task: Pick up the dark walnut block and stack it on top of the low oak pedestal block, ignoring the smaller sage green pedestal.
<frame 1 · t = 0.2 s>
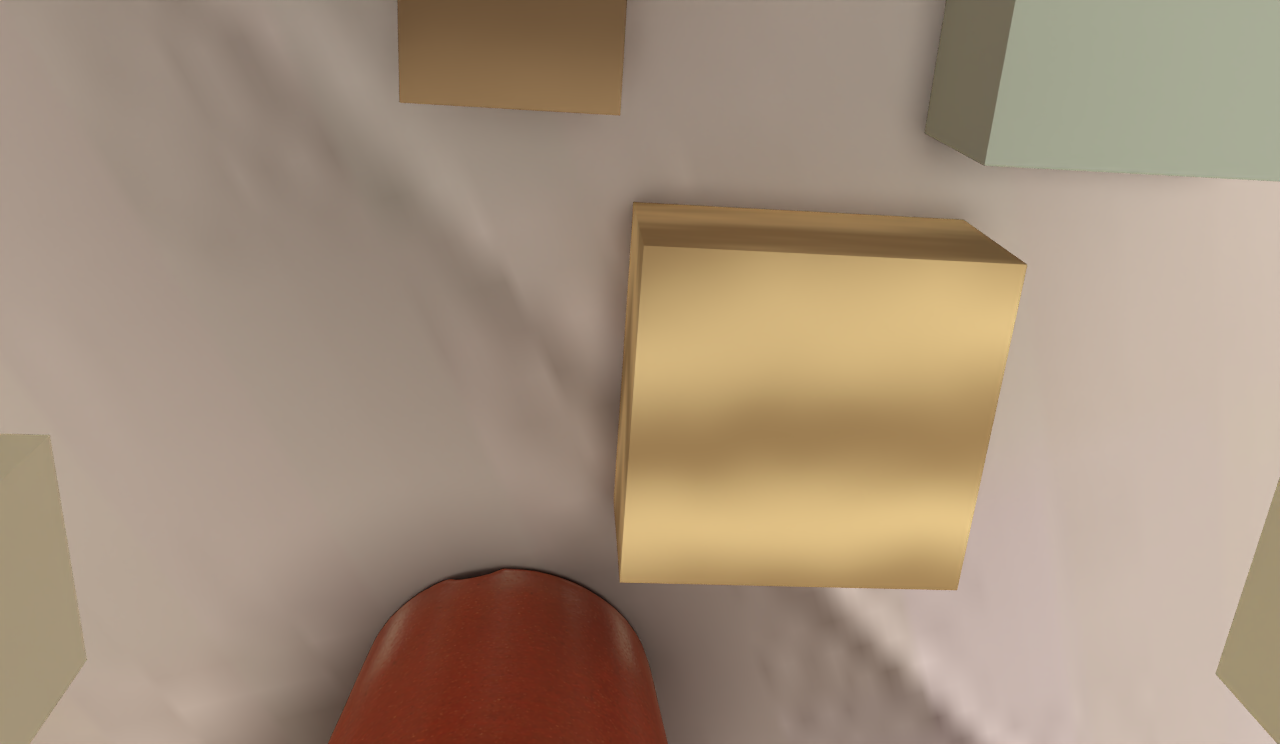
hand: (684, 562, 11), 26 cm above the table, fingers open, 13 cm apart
oak pedestal: (779, 363, 40), on the table
flower pot 2: (508, 679, 44), on the table
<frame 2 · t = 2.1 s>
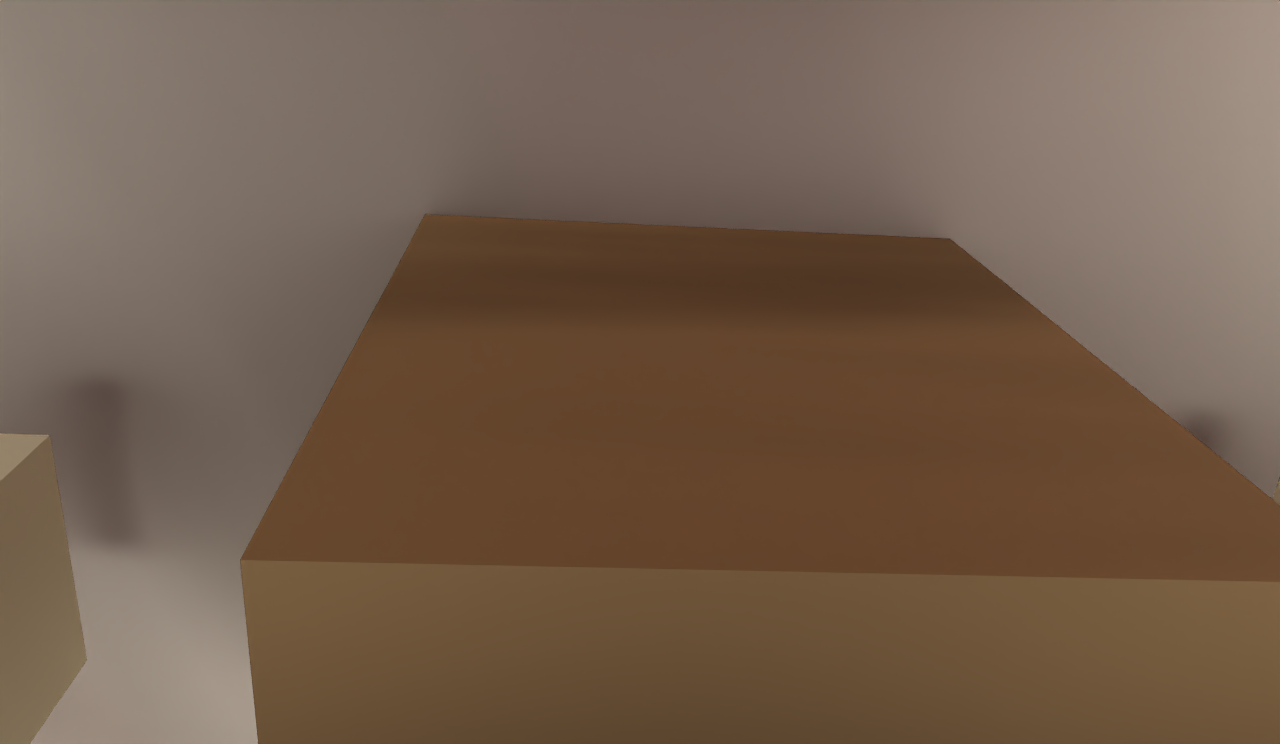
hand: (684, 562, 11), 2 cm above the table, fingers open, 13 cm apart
walnut block: (672, 460, 13), on the table
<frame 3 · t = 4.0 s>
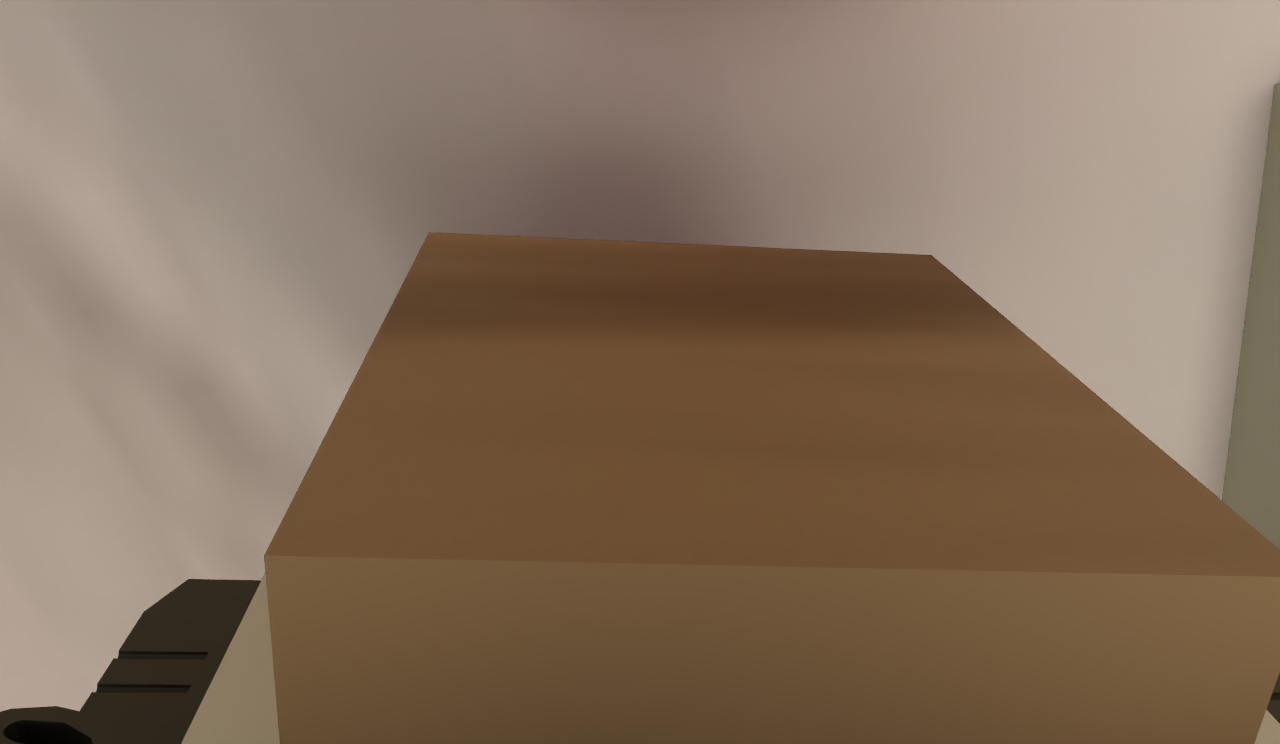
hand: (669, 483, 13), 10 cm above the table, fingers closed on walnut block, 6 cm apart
walnut block: (666, 469, 13), point 9 cm above the table, touching gripper
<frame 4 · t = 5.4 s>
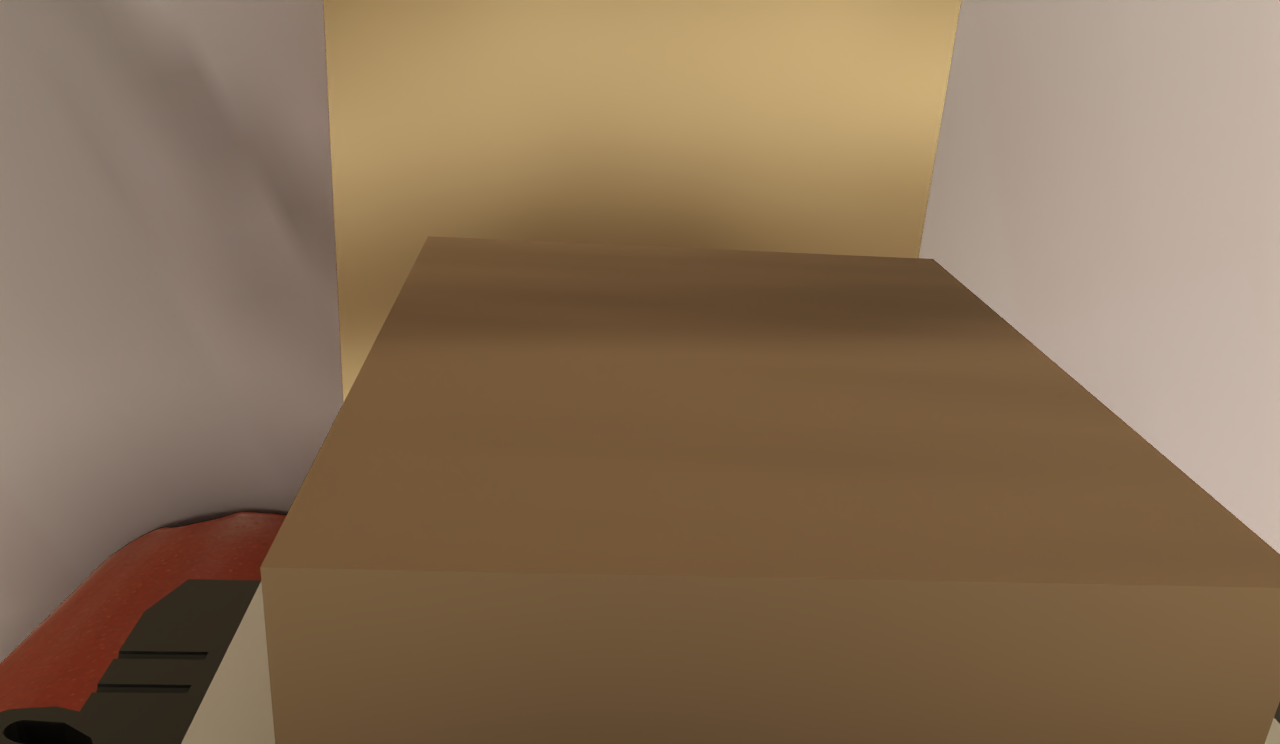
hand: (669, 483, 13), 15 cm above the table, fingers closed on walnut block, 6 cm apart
oak pedestal: (619, 203, 27), on the table
flower pot 2: (270, 672, 32), on the table
walnut block: (667, 474, 13), point 15 cm above the table, touching gripper
when the fingers open (7 cm above the table, at t = 7.0 s): walnut block drops 1 cm, resting on oak pedestal.
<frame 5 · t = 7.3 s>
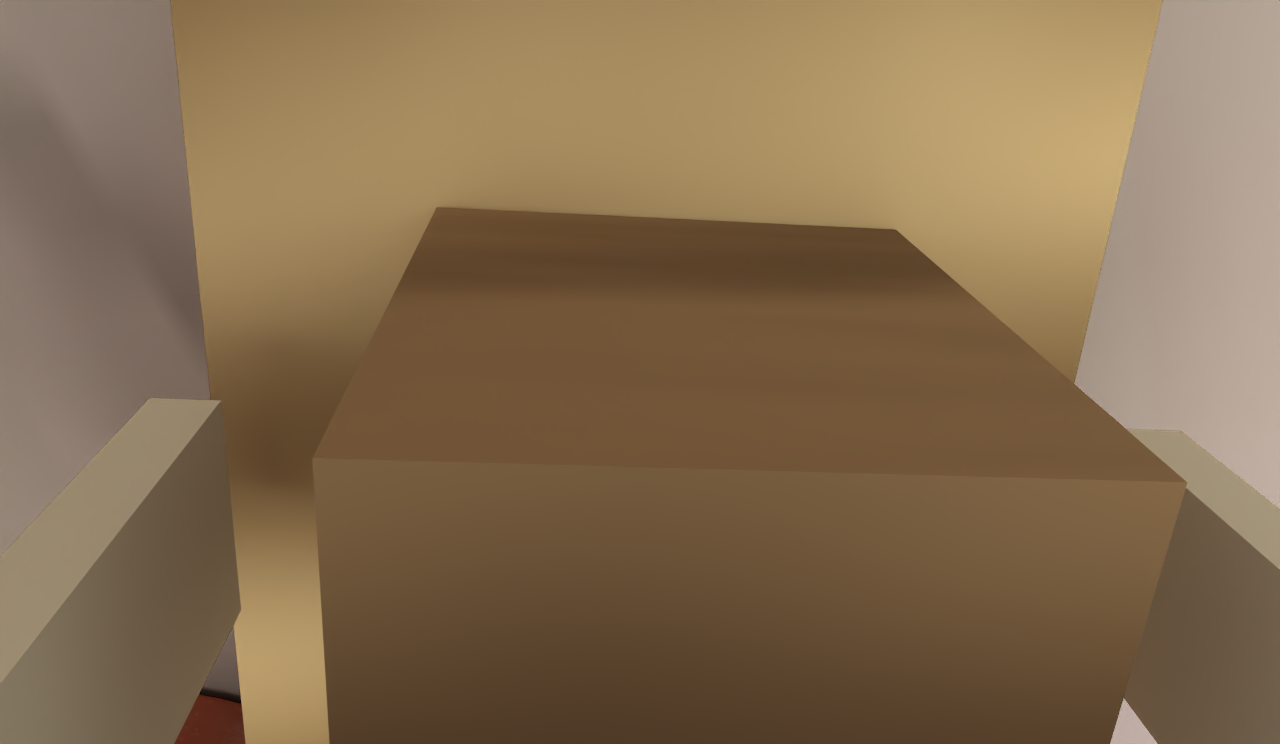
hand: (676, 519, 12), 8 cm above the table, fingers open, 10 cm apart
oak pedestal: (628, 293, 20), on the table, touching walnut block
walnut block: (654, 427, 15), point 6 cm above the table, touching oak pedestal
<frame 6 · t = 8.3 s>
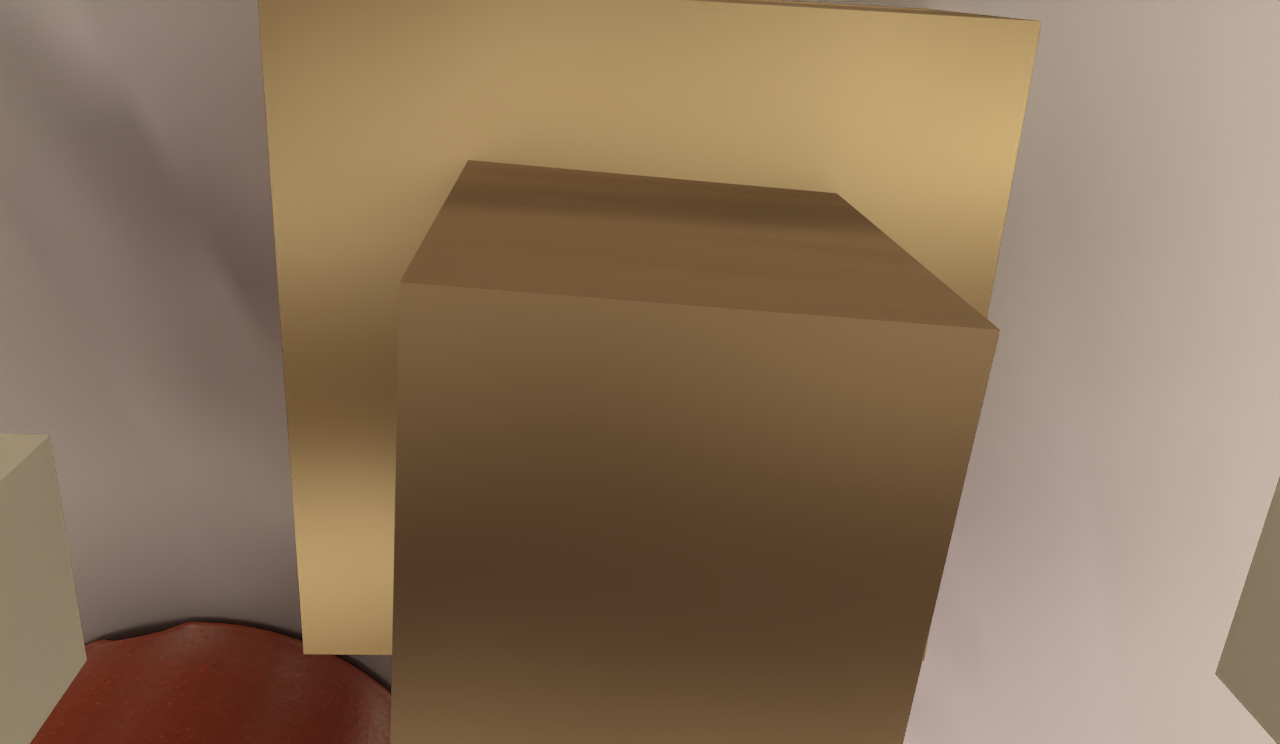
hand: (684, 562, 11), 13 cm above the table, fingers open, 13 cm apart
oak pedestal: (622, 273, 24), on the table
walnut block: (637, 351, 18), point 6 cm above the table
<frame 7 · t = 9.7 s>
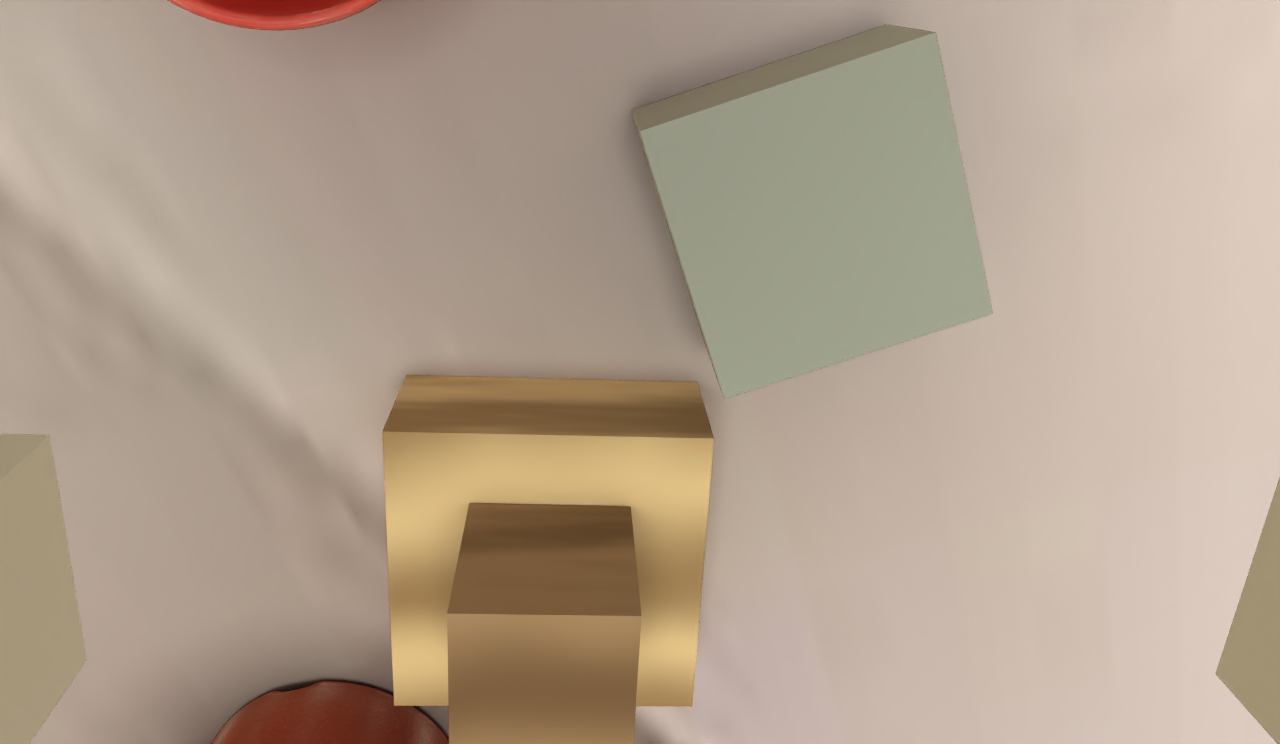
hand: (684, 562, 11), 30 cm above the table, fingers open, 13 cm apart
oak pedestal: (550, 503, 46), on the table
sage green pedestal: (790, 192, 41), on the table
walnut block: (548, 574, 40), point 6 cm above the table
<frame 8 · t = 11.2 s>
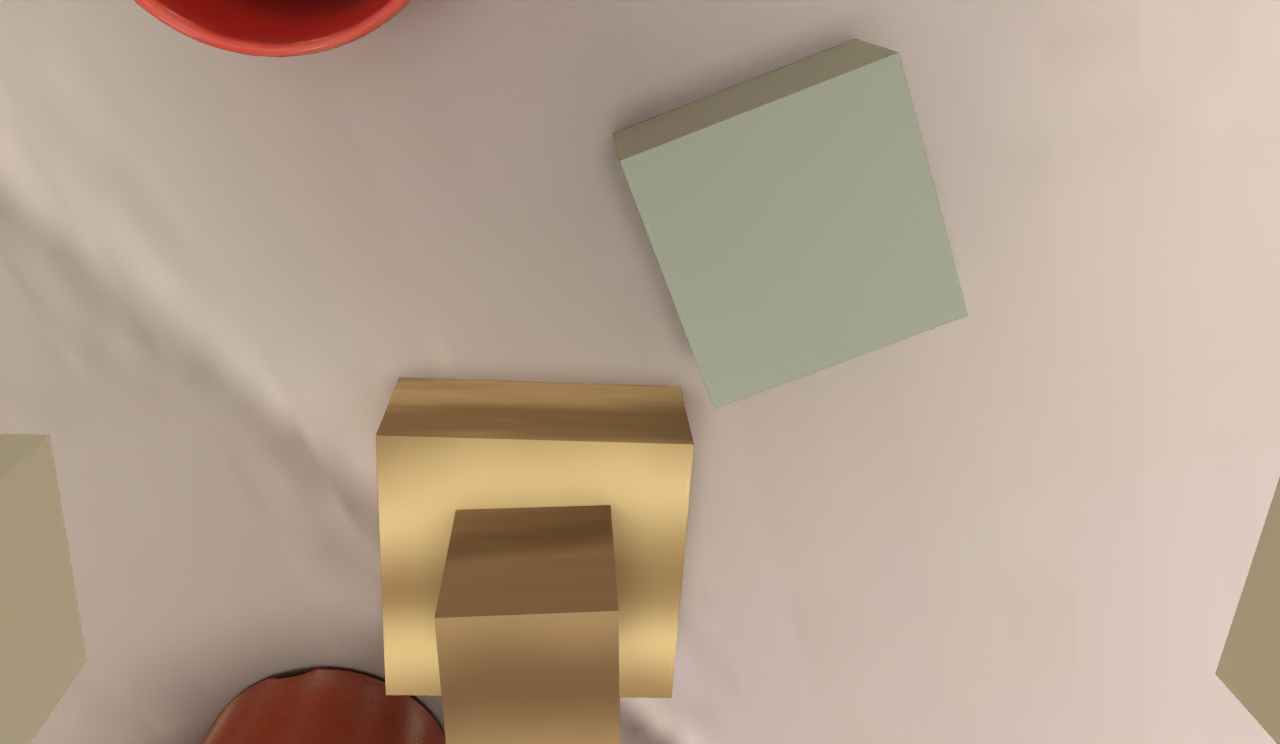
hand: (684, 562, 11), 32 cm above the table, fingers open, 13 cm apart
oak pedestal: (537, 501, 47), on the table, touching walnut block
sage green pedestal: (770, 203, 43), on the table
walnut block: (536, 573, 42), point 6 cm above the table, touching oak pedestal
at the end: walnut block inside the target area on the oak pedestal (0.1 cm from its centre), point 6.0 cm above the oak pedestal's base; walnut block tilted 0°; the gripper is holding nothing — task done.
